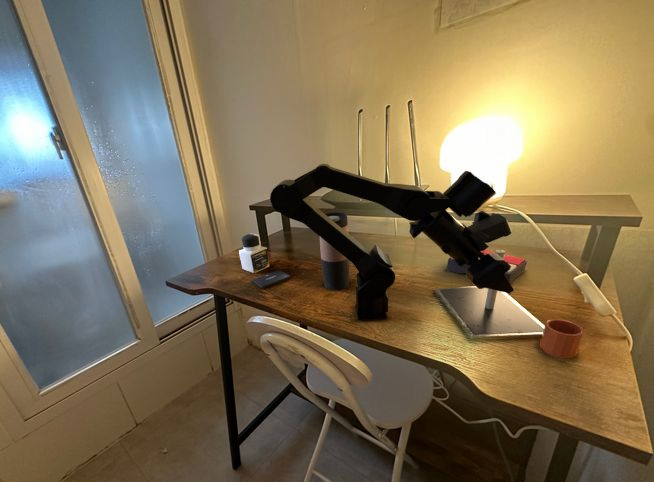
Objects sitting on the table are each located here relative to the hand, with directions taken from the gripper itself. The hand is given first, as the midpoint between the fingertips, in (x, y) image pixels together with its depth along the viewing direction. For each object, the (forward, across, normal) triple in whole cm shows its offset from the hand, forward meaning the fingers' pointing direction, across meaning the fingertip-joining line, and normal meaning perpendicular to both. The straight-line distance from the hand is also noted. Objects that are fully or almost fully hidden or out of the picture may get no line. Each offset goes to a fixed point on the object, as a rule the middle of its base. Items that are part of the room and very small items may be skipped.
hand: (500, 281), depth 63 cm
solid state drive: (-34, +19, +44) cm, 59 cm away
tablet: (+4, 0, +7) cm, 8 cm away
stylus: (+4, 0, +5) cm, 6 cm away
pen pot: (+9, -13, +2) cm, 16 cm away
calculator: (+9, +21, +2) cm, 23 cm away
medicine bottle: (-39, +30, +50) cm, 70 cm away
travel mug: (-19, +15, +30) cm, 38 cm away
